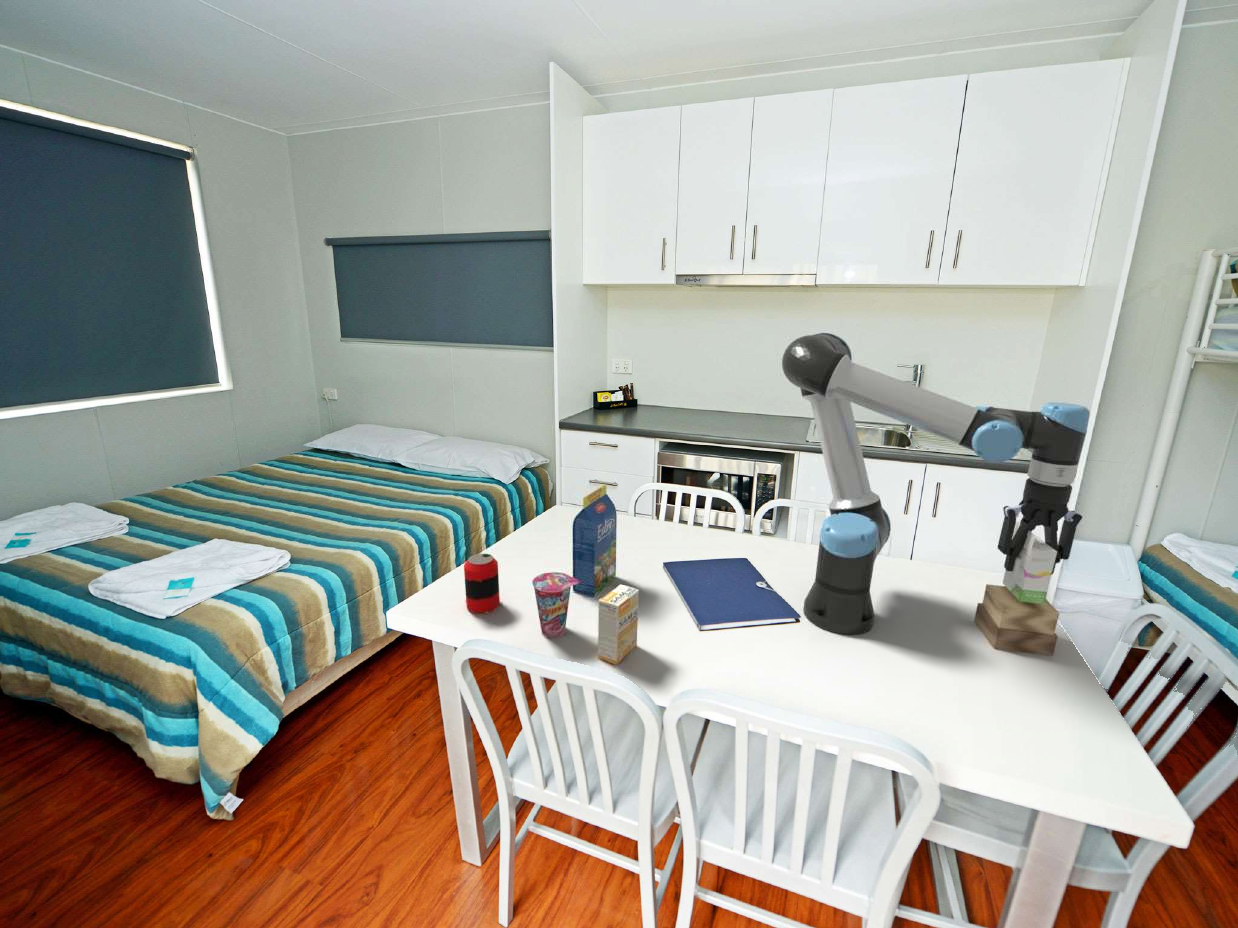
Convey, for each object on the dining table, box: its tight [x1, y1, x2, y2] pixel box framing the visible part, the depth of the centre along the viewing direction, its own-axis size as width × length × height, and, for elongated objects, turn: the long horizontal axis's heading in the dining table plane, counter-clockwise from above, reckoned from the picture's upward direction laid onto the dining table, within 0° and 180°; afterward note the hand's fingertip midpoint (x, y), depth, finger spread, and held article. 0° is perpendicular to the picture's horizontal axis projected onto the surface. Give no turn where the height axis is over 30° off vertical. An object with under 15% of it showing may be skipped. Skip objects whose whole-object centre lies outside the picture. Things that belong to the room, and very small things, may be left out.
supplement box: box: [597, 584, 640, 665], centre depth 116 cm, size 8×5×13 cm, turn 148°
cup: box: [531, 571, 579, 639], centre depth 123 cm, size 9×8×12 cm
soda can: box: [463, 553, 501, 615], centre depth 132 cm, size 8×8×12 cm
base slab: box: [973, 602, 1059, 657], centre depth 124 cm, size 11×11×5 cm
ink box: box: [1002, 521, 1057, 604], centre depth 119 cm, size 9×5×15 cm, turn 168°
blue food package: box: [572, 483, 618, 597], centre depth 141 cm, size 6×12×25 cm, turn 155°
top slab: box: [981, 583, 1060, 635], centre depth 122 cm, size 10×10×5 cm
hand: (1024, 585), depth 121 cm, fingers closed on ink box, 5 cm apart
